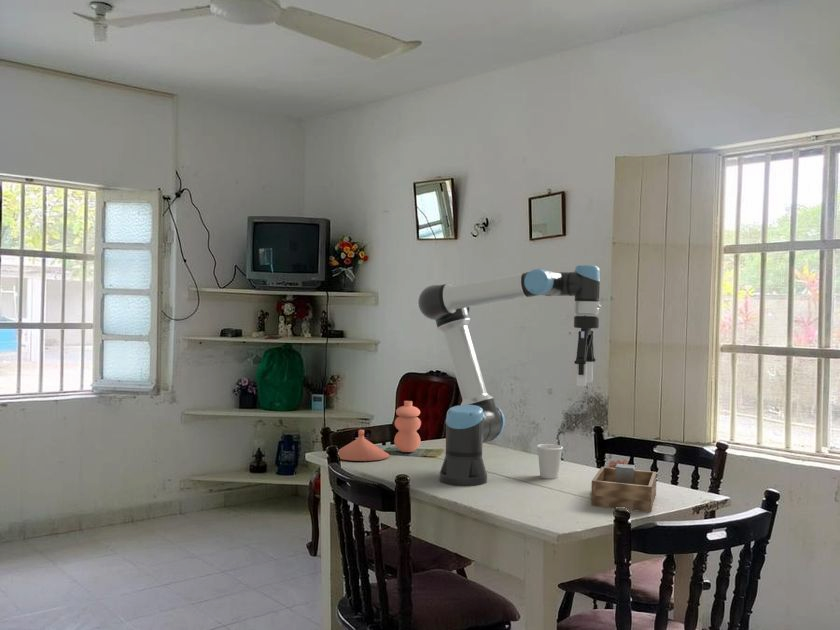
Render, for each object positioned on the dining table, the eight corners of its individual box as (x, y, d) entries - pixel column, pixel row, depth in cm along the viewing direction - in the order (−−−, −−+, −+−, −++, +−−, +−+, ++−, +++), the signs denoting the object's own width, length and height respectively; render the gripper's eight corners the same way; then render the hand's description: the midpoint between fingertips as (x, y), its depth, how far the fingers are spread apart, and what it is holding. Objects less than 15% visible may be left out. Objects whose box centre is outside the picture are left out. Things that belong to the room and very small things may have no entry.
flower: (640, 470, 235) (626, 452, 234) (636, 491, 228) (621, 472, 227) (614, 479, 241) (600, 461, 240) (609, 499, 234) (595, 481, 232)
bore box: (591, 505, 208) (591, 480, 207) (601, 489, 227) (601, 466, 227) (651, 512, 202) (651, 487, 202) (656, 495, 221) (656, 472, 221)
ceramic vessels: (346, 462, 258) (348, 408, 258) (322, 452, 276) (323, 401, 276) (432, 454, 276) (434, 404, 276) (404, 445, 294) (406, 397, 294)
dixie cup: (541, 472, 249) (542, 442, 249) (565, 476, 245) (566, 445, 245) (532, 477, 242) (532, 446, 242) (556, 480, 238) (557, 449, 238)
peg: (614, 501, 213) (615, 466, 213) (616, 497, 218) (617, 463, 218) (632, 503, 211) (633, 468, 211) (634, 499, 216) (635, 465, 216)
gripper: (593, 315, 217) (591, 388, 217) (604, 315, 241) (602, 381, 241) (567, 314, 220) (565, 386, 220) (580, 315, 243) (578, 380, 243)
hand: (584, 384), depth 230 cm, fingers open, 13 cm apart
